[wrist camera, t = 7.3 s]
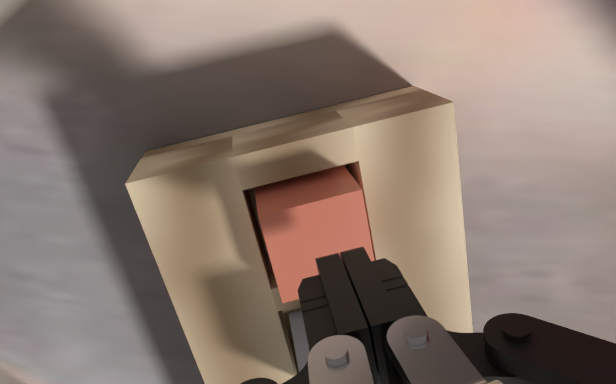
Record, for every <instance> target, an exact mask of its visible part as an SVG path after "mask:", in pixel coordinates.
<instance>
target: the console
mask: <svg viewBox="0 0 616 384" xmlns="http://www.w3.org/2000/svg"><path fill="white" fill-rule="evenodd" d="M340 165H344V166H345V167H346V168H347V170H348V171H349V173H350V174H351V175H352V177H353V178H354V179H355V181H356V182H357V183H358V185H359V186H360V188H361V189H362V193H363V198H364V204H365V210H366V215H367V221H368V227H369V232H370V238H371V244H372V249H373V255H374V261H375V260H379V259H383V258H385V259H387V260H389V261H390V262H392V263H394V264H395V265H397V267H398V268H399V270H400V272H401V273H402V275H403V278H405V280H406V281H407V283H408V286H410V288H411V290H412V291H413V293H414V295H415V296H416V298H417V300H418V301H419V303H420V304H421V306H422V308H423V309H424V311H425V313H426V314H427V316H428V317H430V318H433V319H435V320H436V321H438V322H439V323H440V324H441V325H442V326H443V327H444V328H445V329H446V330H448V331H452V332H458V333H473V328H472V316H471V304H470V292H469V280H468V268H467V256H466V244H465V232H464V220H463V208H462V196H461V184H460V172H459V160H458V148H457V136H456V124H455V111H454V102H452V101H450V100H447V99H445V98H442V97H440V96H437V95H435V94H432V93H430V92H427V91H425V90H423V89H420V88H418V87H415V86H411V87H407V88H402V89H398V90H394V91H390V92H386V93H382V94H378V95H374V96H370V97H366V98H362V99H358V100H353V101H349V102H345V103H341V104H337V105H333V106H329V107H325V108H321V109H317V110H313V111H309V112H304V113H300V114H296V115H292V116H288V117H284V118H280V119H276V120H272V121H268V122H264V123H259V124H255V125H251V126H247V127H243V128H239V129H235V130H231V131H227V132H223V133H219V134H215V135H210V136H206V137H202V138H198V139H194V140H190V141H186V142H182V143H178V144H174V145H170V146H166V147H161V148H157V149H153V150H149V151H145V153H144V155H143V156H142V158H141V159H140V161H139V162H138V164H137V166H136V167H135V169H134V170H133V172H132V174H131V175H130V177H129V178H128V180H127V181H126V183H125V185H126V188H127V190H128V193H129V195H130V198H131V200H132V203H133V205H134V208H135V210H136V213H137V215H138V218H139V220H140V223H141V225H142V228H143V230H144V233H145V235H146V238H147V240H148V243H149V245H150V248H151V250H152V253H153V255H154V258H155V260H156V263H157V265H158V268H159V270H160V273H161V275H162V278H163V280H164V283H165V285H166V288H167V290H168V293H169V295H170V298H171V300H172V303H173V305H174V308H175V310H176V313H177V315H178V318H179V320H180V323H181V325H182V328H183V330H184V333H185V335H186V338H187V340H188V343H189V345H190V348H191V350H192V353H193V355H194V358H195V361H196V363H197V366H198V368H199V371H200V373H201V376H202V378H203V381H204V383H205V384H240V383H242V382H244V381H247V380H250V379H253V378H268V379H271V380H274V381H275V382H277V383H278V384H282V383H284V382H285V381H287V380H289V379H291V378H292V377H294V376H295V375H296V374H298V373H299V369H298V363H297V358H296V352H295V347H294V342H293V336H292V331H291V325H290V320H289V313H293V312H297V311H300V310H301V305H300V300H299V299H297V300H294V301H290V302H286V303H282V300H281V296H280V293H279V289H278V286H277V282H276V279H275V275H274V272H273V268H272V264H271V261H270V257H269V254H268V250H267V247H266V243H265V240H264V236H263V233H262V229H261V226H260V222H259V218H258V213H257V205H256V197H255V188H254V187H258V186H262V185H265V184H269V183H273V182H277V181H281V180H285V179H289V178H293V177H297V176H301V175H305V174H309V173H313V172H317V171H321V170H325V169H329V168H333V167H336V166H340Z"/></svg>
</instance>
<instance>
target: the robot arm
mask: <svg viewBox="0 0 616 384" xmlns="http://www.w3.org/2000/svg"><path fill="white" fill-rule="evenodd" d="M315 260H316V265H317V269H318V273H319V275H316V276H312V277H308V278H304V279H302V281H301V283H300V286H299V288H298V295H299V300H300V305H301V310H302V315H303V320H304V325H305V330H306V335H307V340H308V345H309V355H308V361H307V363H306V365H305V366H304V367H303V369H302V370H301V371H300V372H299V373H298V374H296V375H295V376H294V377H292V378H291V379H289V380H287V381H285V382H284V383H282V384H616V344H615V343H612V342H609V341H606V340H602V339H599V338H596V337H593V336H590V335H587V334H584V333H581V332H577V331H574V330H571V329H568V328H565V327H562V326H559V325H555V324H552V323H549V322H546V321H543V320H540V319H537V318H534V317H530V316H527V315H523V314H516V313H508V314H501V315H498V316H495V317H493V318H491V319H490V320H489V321H488V322H487V323H486V324H485V326H484V330H483V333H458V332H452V331H448V330H446V329H445V328H444V327H443V326H442V325H441V324H440V323H439V322H438V321H436V320H435V319H433V318H430V317H428V316H427V314H426V313H425V311H424V309H423V308H422V306H421V304H420V303H419V301H418V300H417V298H416V296H415V295H414V293H413V291H412V290H411V288H410V286H408V283H407V281H406V280H405V278H403V275H402V273H401V272H400V270H399V268H398V267H397V265H395V264H394V263H392V262H390V261H389V260H387V259H385V258H383V259H379V260H375V261H371V260H370V258H369V256H368V254H367V252H366V250H365V248H364V247H359V248H355V249H351V250H347V251H343V252H340V255H339V253H335V254H331V255H327V256H323V257H319V258H315ZM240 384H278V383H277V382H275V381H274V380H271V379H268V378H253V379H250V380H247V381H244V382H242V383H240Z"/></svg>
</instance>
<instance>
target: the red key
mask: <svg viewBox="0 0 616 384" xmlns="http://www.w3.org/2000/svg"><path fill="white" fill-rule="evenodd" d="M254 188H255V197H256V205H257V213H258V218H259V222H260V226H261V229H262V233H263V236H264V240H265V243H266V247H267V250H268V254H269V257H270V261H271V264H272V268H273V272H274V275H275V279H276V282H277V286H278V289H279V293H280V296H281V300H282V303H286V302H290V301H294V300H297V299H299V295H298V288H299V286H300V283H301V281H302V279H304V278H308V277H312V276H316V275H319V273H318V269H317V265H316V260H315V258H319V257H323V256H327V255H331V254H335V253H339V255H340V252H343V251H347V250H351V249H355V248H359V247H364V248H365V250H366V252H367V254H368V256H369V258H370V260H371V261H374V255H373V249H372V244H371V238H370V232H369V227H368V221H367V215H366V210H365V204H364V198H363V193H362V189H361V188H360V186H359V185H358V183H357V182H356V181H355V179H354V178H353V177H352V175H351V174H350V173H349V171H348V170H347V168H346V167H345V166H344V165H340V166H336V167H333V168H329V169H325V170H321V171H317V172H313V173H309V174H305V175H301V176H297V177H293V178H289V179H285V180H281V181H277V182H273V183H269V184H265V185H262V186H258V187H254Z"/></svg>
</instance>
